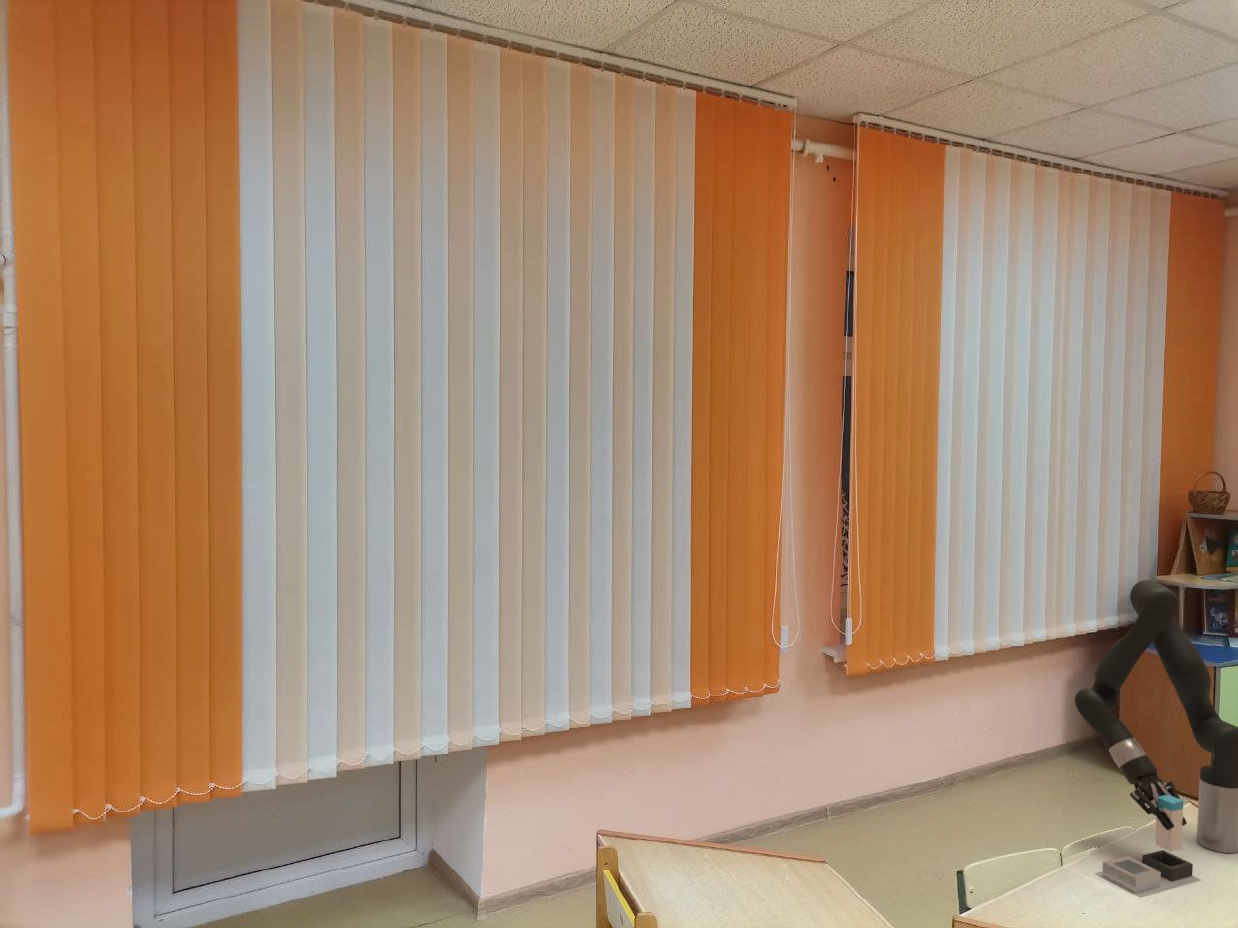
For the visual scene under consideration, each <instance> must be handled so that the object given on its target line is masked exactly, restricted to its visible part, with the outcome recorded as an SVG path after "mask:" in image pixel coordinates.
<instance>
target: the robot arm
mask: <svg viewBox="0 0 1238 928" xmlns="http://www.w3.org/2000/svg"><path fill="white" fill-rule="evenodd" d="M1129 595H1130V596H1129V597H1130V598H1129V599H1130V600H1129V601H1130V603H1131V606H1132V608H1133V610H1134V611H1135V612H1136V614H1137V615H1138V616H1137V619H1136V621H1135V623H1134V624H1133V626H1132V627H1131V629H1130V630H1128V632H1127V633H1126V634H1125V635H1124V636H1122V637H1121V638H1120V639H1119V640H1117V641H1116V642H1114V644H1113V645H1112V646H1111V647H1110V648H1109V649H1108V650H1107V652H1105V654H1104V656H1103V657H1102V659H1101V660H1100V663H1099V664H1098V666H1097V667H1096V668H1095V671H1094V678H1095V682H1094V683H1093V686H1092V688H1084V689H1081V690H1079V691H1077V693H1076V694H1075V695H1074V703H1075V707H1076V710H1077V711H1078V713H1079V714H1080V715H1081V717H1082V718H1083V719H1084V720H1085V721H1086V722H1087V724H1088V725H1089V726H1090V727H1091V728H1092V730H1093V731H1095V732H1096V733H1097V735H1098V736H1099V738H1100V739H1101V741H1102V742H1103V744H1104V746H1105V747H1106V750H1108V753H1110V756H1111V758H1112V759H1113V761H1114V762H1115V764H1116V765H1117V768H1118V769H1119V770H1120V772H1121V773H1122V775H1123V776H1124V778H1125V779H1126V781H1127V782H1128V784H1129V785H1133V786H1134V789H1135V790H1133V791H1132V792H1130V793H1129V796H1130V797H1131V798H1132V799H1133V801H1135V803H1137V804H1138V805H1139V806H1140V808H1141V809H1142V810H1143V811H1144V812H1145V813H1146V814H1147V815H1153V816H1155V817H1156V816H1157V818H1158V819H1159V821H1160V822H1161V824H1162V825H1163V827H1164V828H1165V829H1166V830H1170V829H1172V828H1174V824H1173V823H1172V822H1171V820H1170V819H1169V817H1168V816H1167V814H1166V813H1165V812H1163V811H1164V810H1163V808H1162V806H1161V805H1160V803H1159V802H1160V801H1159V799H1158V797H1160V796H1164V795H1170V796H1173V797H1175V798H1178V799H1180V800H1181V798H1180V796H1179V793H1178V792H1177V789H1176V787H1175V784H1174V783H1173V781H1168V782H1165V781H1163V780H1162V779H1160V778H1159V776H1158V769H1157V768H1156V766H1155V764H1154V763H1153V761H1152V760H1151V759H1150V757H1149V756H1148V754H1147V753H1146V751H1145V750H1144V748H1143V747H1142V746H1141V745H1140V743H1139V742H1138V740H1137V739H1136V738H1135V737H1134V736H1133V735H1132V733H1131V732H1130V730H1129V729H1128V726H1126V724H1125V723H1124V722H1123V721H1121V720H1120V719H1119V718H1117V717H1116V716H1115V715H1114V714H1113V713H1112V711H1113V708H1114V707H1115V705H1116V703H1117V701H1118V698H1119V695H1120V692H1121V689H1122V686H1123V685H1124V683H1125V681H1127V679H1128V677H1129V675H1130V673H1132V670H1133V668H1134V667H1135V665H1136V664H1137V662H1138V661H1139V660H1140V658H1141V656H1143V654H1144V653H1145V652H1146V650H1147V649H1148V648H1149V647H1150V645H1151V644H1152V643H1153V645H1154V648H1155V651H1156V652H1157V654H1158V656H1159V657H1158V658H1159V659H1160V660H1161V664H1162V665H1163V668H1164V671H1165V672H1166V674H1167V677H1168V679H1169V681H1170V683H1171V685H1172V686H1173V689H1174V690H1175V692H1176V695H1177V696H1178V699H1179V701H1180V703H1181V706H1182V707H1183V709H1184V712H1185V714H1186V716H1187V720H1188V723H1189V726H1190V728H1191V732H1192V735H1193V737H1194V739H1195V741H1196V743H1197V744H1198V745H1199V746H1200V748H1201V749H1203V750H1204V751H1206V752H1208V753H1210V754H1212V755H1213V759H1212V765H1202V767H1201V768H1200V771H1199V779H1198V780H1199V781H1198V782H1199V784H1198V785H1199V786H1198V787H1199V788H1198V806H1197V807H1198V808H1197V825H1196V843H1198V844H1199V845H1200V846H1202V847H1204V848H1205V849H1209V850H1211V851H1214V852H1217V853H1223V854H1236V853H1238V726H1236V725H1234V724H1231V723H1229V722H1227V721H1224V720H1223V719H1221V718H1220V716H1219V714H1218V713H1217V711H1216V710H1215V708H1214V705H1213V703H1212V701H1211V699H1210V692H1211V686H1212V677H1211V674H1210V671H1209V669H1208V667H1207V665H1206V663H1205V661H1204V659H1203V657H1202V655H1201V654H1200V652H1199V650H1198V649H1197V647H1196V646H1195V645H1194V643H1193V642H1192V640H1191V639H1190V638H1189V637H1188V636H1187V634H1186V633H1185V632H1184V630H1183V629H1182V628H1181V627H1180V626H1179V624H1178V622H1177V621H1176V618H1175V617H1176V615H1177V614H1178V612H1179V610H1180V599H1179V596H1178V595H1177V594H1176V593H1175V592H1174V591H1172V590H1171V589H1169V588H1168V587H1166V586H1164V585H1163V584H1161V583H1159V582H1157V581H1152V580H1146V579H1145V580H1140V581H1138V582H1136V583H1135V584H1134V585H1133V586H1132V588H1131V590H1130V594H1129ZM1187 824H1188V823H1187V820H1186V818H1185V816H1183V823H1182V826H1185V825H1187Z"/></svg>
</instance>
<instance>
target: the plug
mask: <svg viewBox="0 0 1238 928" xmlns="http://www.w3.org/2000/svg"><path fill="white" fill-rule="evenodd" d="M1158 799H1159V801H1160V802H1159V803H1160V805H1161V806H1162V808H1163V810H1164V811H1163V812H1165V813H1166V814H1167V816H1168V817H1169V819H1170V820H1171V822H1172V823H1173V824H1174V828H1172V829H1170V830H1166V829H1165V828H1164V827H1163V825H1162V824H1161V822H1160V821H1159V819H1158V818H1157V816H1155V838H1154V839H1155V842H1154V843H1155V846H1158V847H1159V848H1162V849H1164V850H1166V851H1168V852H1169V853H1170V852H1171V853H1172V852H1176V851H1178V850H1182V849H1183V829H1184V828H1183V826H1182V823H1183V817H1184V800H1182V799H1181V798H1180V799H1178V798H1175V797H1173V796H1170V795H1164V796H1160V797H1158Z"/></svg>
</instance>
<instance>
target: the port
mask: <svg viewBox="0 0 1238 928" xmlns="http://www.w3.org/2000/svg"><path fill="white" fill-rule="evenodd" d="M1102 871H1103V875H1102V876H1103V877H1105V878H1107V879H1109V880H1111V881H1113V882H1115V883H1117V884H1118V885H1120V886H1122V887H1124V888H1126V889H1128V890H1130V891H1132V892H1134V893H1139V892H1142V891H1146V890H1149V889H1153V888H1157V887H1160V877H1161V872H1160V871H1157V870H1155V869H1153V868H1151V867H1149V866H1147V865H1145V864H1143V863H1141V862H1140V861H1138V860H1137V859H1134V858H1133V857H1131V856H1128V855H1125V856H1121V857H1117V858H1115V859H1114V858H1113V859H1110V860H1105V861H1103V862H1102Z"/></svg>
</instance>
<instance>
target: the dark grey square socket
mask: <svg viewBox="0 0 1238 928" xmlns="http://www.w3.org/2000/svg"><path fill="white" fill-rule="evenodd" d="M1141 858H1142V859H1141V861H1142V863H1143V864H1145V865H1147V866H1149V867H1151V868H1153V869H1155V870H1157V871H1160V872H1161V877H1163V878H1165V879H1167V880H1169V881H1171V882H1172V881H1176V880H1179V879H1183V878H1186V877H1190V876H1193V867H1194V866H1193V865H1194V864H1193V863H1191V862H1190V861H1188V860H1185V859H1183V858H1181V857H1179V856H1176V854H1175V855H1174V854H1172V853H1170V852H1169V851H1168V852H1167V850H1166V851H1165V849H1164V850H1163V849H1161V850H1157V851H1154V852H1149V853H1146V854H1143V855H1142V856H1141Z"/></svg>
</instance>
